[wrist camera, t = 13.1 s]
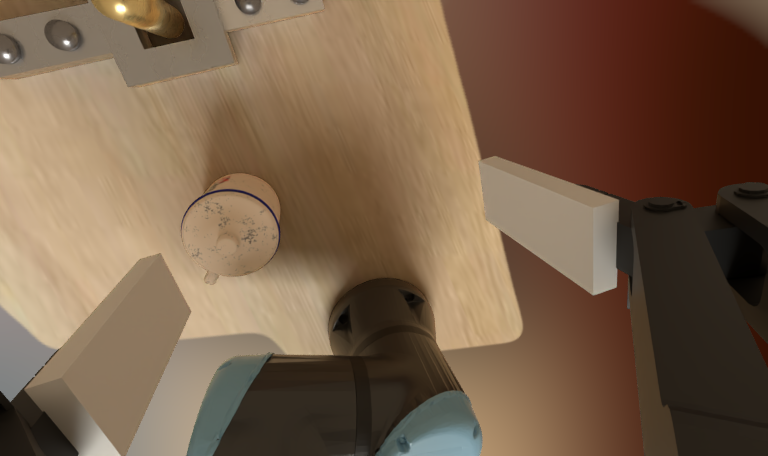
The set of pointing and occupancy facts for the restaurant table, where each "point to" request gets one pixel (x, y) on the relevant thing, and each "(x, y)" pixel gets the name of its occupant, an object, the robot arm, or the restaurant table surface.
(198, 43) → the studded slotted bracket
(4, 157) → the restaurant table surface
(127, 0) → the brass pin
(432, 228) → the restaurant table surface
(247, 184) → the teacup with lid
